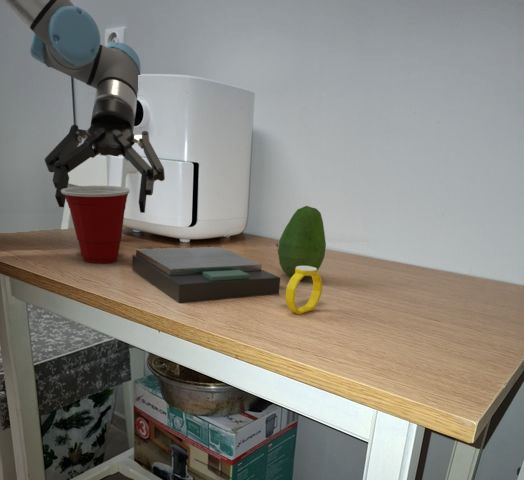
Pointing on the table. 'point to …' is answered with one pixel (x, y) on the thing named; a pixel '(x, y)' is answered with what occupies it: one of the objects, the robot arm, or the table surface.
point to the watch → (293, 283)
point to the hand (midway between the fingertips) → (100, 205)
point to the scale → (203, 273)
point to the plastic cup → (97, 220)
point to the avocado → (302, 241)
